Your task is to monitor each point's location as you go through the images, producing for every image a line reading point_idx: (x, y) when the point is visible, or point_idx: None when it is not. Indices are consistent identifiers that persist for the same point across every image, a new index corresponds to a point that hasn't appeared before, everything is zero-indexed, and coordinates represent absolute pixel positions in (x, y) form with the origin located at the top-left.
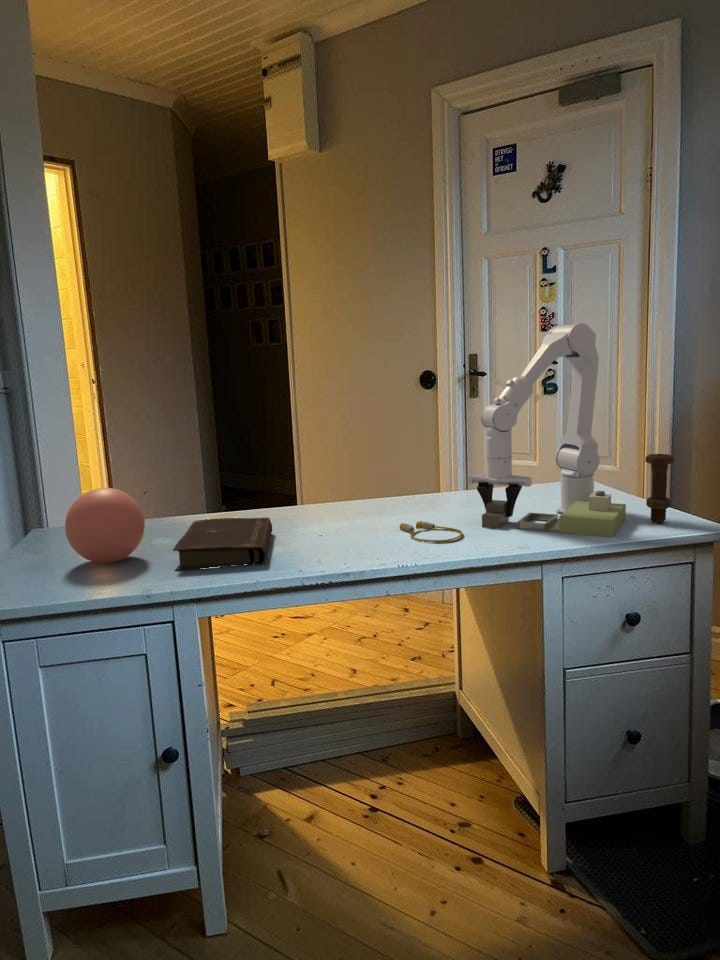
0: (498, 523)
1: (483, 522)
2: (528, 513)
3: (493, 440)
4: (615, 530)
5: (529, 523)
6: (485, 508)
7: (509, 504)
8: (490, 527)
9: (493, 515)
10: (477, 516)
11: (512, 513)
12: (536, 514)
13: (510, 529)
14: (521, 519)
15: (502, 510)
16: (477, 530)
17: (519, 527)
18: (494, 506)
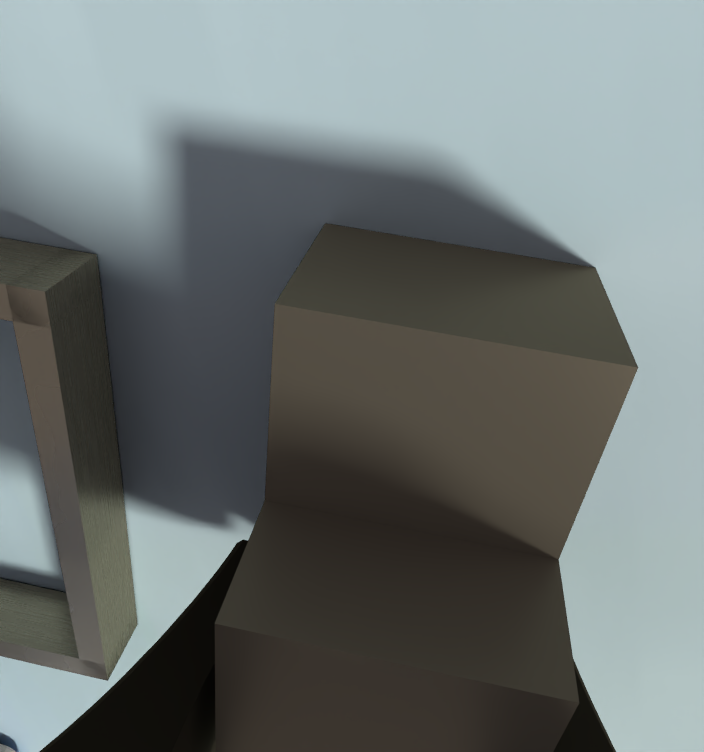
0: (319, 252)
1: (582, 296)
2: (101, 655)
3: None
4: None
5: None
6: (584, 687)
7: (161, 678)
8: (460, 247)
9: (394, 351)
10: (666, 705)
11: None
12: (30, 639)
13: (165, 208)
14: (55, 433)
15: (265, 537)
16: (675, 40)
17: (54, 255)
18: (401, 617)
